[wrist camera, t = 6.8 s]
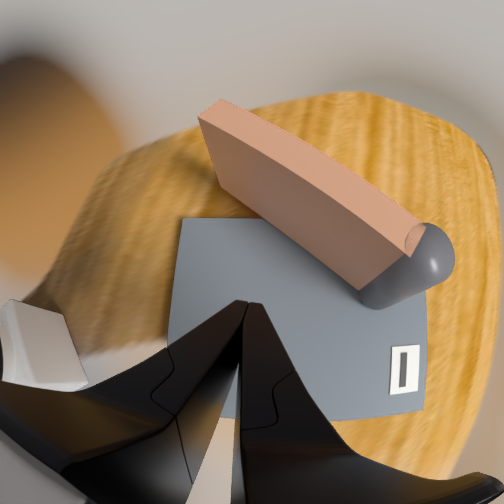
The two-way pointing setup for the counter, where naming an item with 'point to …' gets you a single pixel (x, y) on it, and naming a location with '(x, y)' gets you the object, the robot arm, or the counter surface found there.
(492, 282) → the counter surface
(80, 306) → the counter surface
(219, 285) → the label board
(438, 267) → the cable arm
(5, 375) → the medicine bottle
